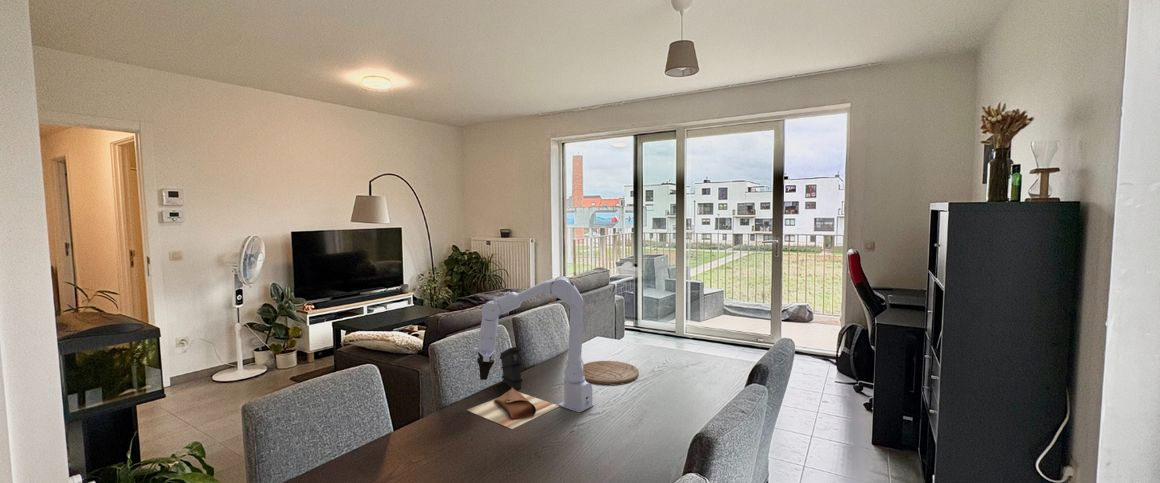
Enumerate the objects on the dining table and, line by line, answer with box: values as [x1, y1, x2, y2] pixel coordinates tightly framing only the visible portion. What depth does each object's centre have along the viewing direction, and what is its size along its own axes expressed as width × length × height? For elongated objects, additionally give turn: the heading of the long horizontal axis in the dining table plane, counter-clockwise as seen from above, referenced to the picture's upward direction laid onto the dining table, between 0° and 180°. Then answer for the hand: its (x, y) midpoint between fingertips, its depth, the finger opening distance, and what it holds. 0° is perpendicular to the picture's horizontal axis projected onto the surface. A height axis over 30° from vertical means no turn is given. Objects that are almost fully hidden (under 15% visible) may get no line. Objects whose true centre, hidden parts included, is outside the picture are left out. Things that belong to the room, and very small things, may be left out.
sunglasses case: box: [494, 388, 536, 419], centre depth 160 cm, size 18×7×7 cm
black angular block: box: [499, 346, 523, 391], centre depth 182 cm, size 4×13×15 cm, turn 32°
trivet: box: [583, 360, 640, 386], centre depth 194 cm, size 25×25×2 cm
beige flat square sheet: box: [466, 391, 561, 430], centre depth 160 cm, size 22×22×1 cm
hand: (483, 375), depth 162 cm, fingers open, 7 cm apart
